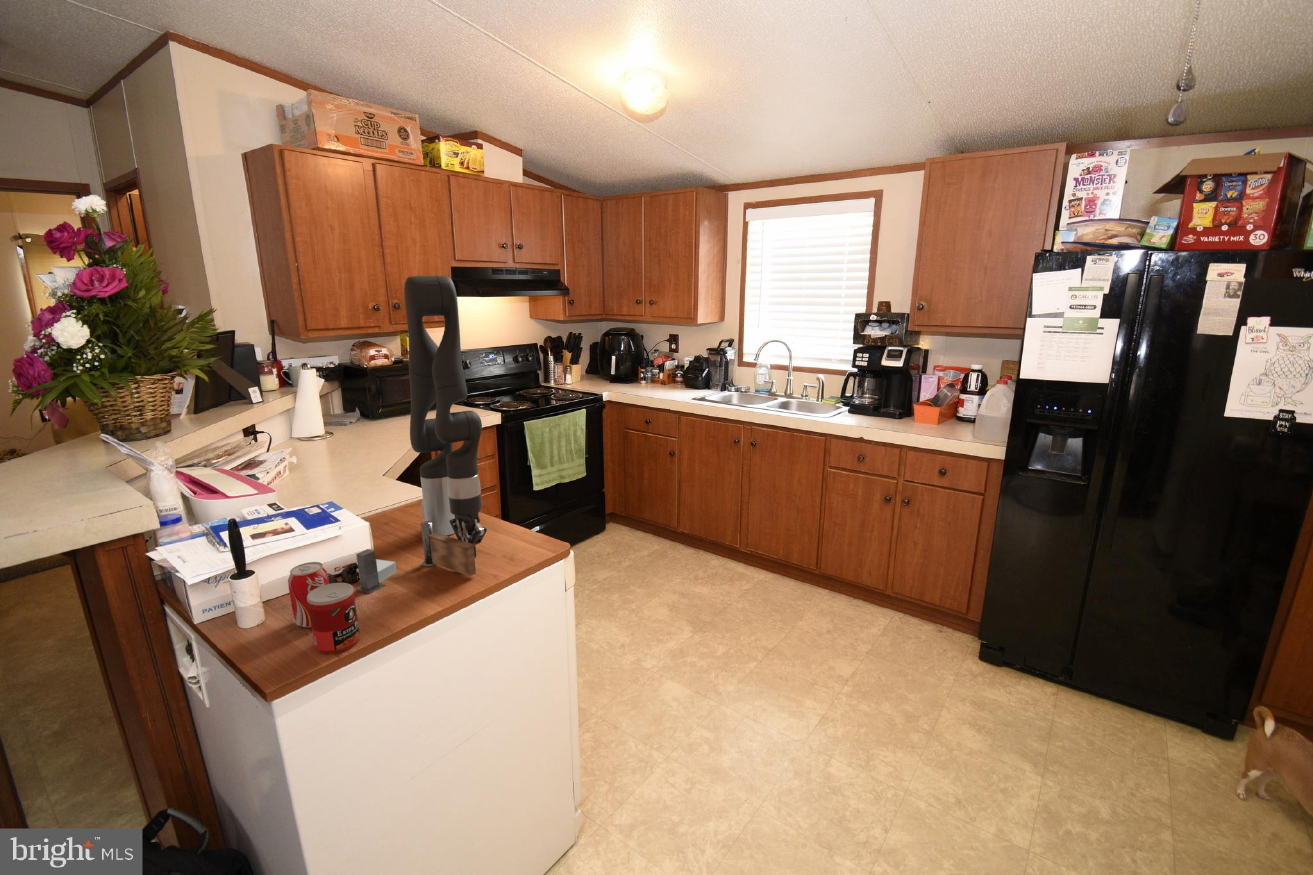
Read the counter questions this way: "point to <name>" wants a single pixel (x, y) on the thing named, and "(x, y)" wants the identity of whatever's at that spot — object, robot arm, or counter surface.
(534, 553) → the counter surface
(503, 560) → the counter surface
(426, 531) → the hinge post
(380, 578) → the block
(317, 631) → the canned food
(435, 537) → the gate
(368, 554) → the post
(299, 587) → the soda can
